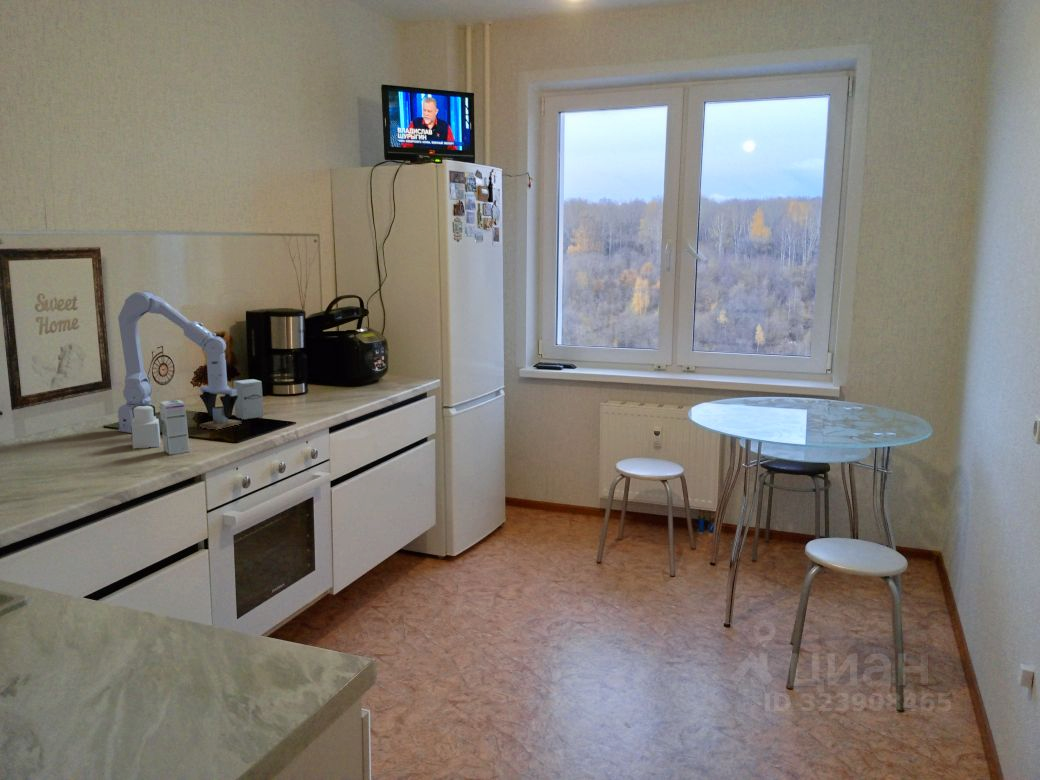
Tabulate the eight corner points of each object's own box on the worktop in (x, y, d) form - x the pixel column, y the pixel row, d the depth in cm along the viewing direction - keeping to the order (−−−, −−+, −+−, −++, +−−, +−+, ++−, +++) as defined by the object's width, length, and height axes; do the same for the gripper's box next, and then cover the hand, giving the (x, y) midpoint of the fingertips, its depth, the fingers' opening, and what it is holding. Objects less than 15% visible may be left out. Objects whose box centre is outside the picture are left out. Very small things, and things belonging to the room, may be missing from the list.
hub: (220, 424, 250) (219, 409, 249) (210, 423, 252) (209, 408, 251) (230, 422, 254) (229, 407, 253) (221, 420, 256) (220, 405, 255)
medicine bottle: (134, 443, 230) (130, 404, 228) (160, 441, 233) (157, 402, 231) (132, 449, 224) (129, 408, 221) (159, 446, 226) (156, 406, 224)
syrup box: (190, 452, 221) (186, 402, 218) (168, 455, 217) (164, 404, 214) (184, 448, 225) (180, 399, 222) (162, 451, 221) (158, 401, 219)
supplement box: (243, 420, 262) (240, 383, 260) (234, 416, 268) (232, 380, 266) (264, 417, 267) (262, 380, 265) (255, 413, 273) (253, 378, 270)
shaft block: (217, 430, 247) (215, 413, 246) (199, 427, 251) (198, 411, 250) (241, 424, 256) (240, 408, 255) (224, 422, 259) (223, 405, 258)
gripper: (243, 374, 250) (245, 415, 253) (211, 371, 257) (214, 411, 259) (225, 377, 244) (228, 419, 246) (193, 374, 251) (196, 415, 253)
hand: (220, 415), depth 252 cm, fingers open, 7 cm apart
